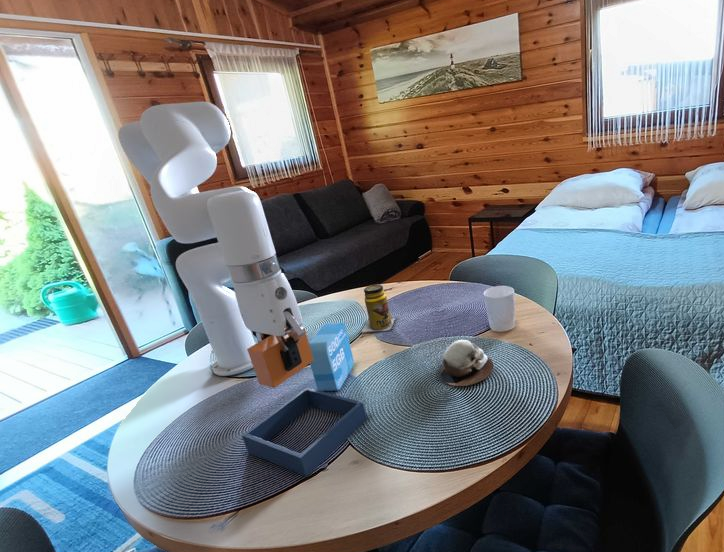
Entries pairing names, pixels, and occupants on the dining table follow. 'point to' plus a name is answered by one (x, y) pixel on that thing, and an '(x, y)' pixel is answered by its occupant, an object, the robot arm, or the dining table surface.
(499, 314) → the white cup
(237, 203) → the robot arm
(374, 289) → the condiment
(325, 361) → the data package
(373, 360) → the dining table surface
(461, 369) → the skull
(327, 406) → the bin
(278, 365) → the block
